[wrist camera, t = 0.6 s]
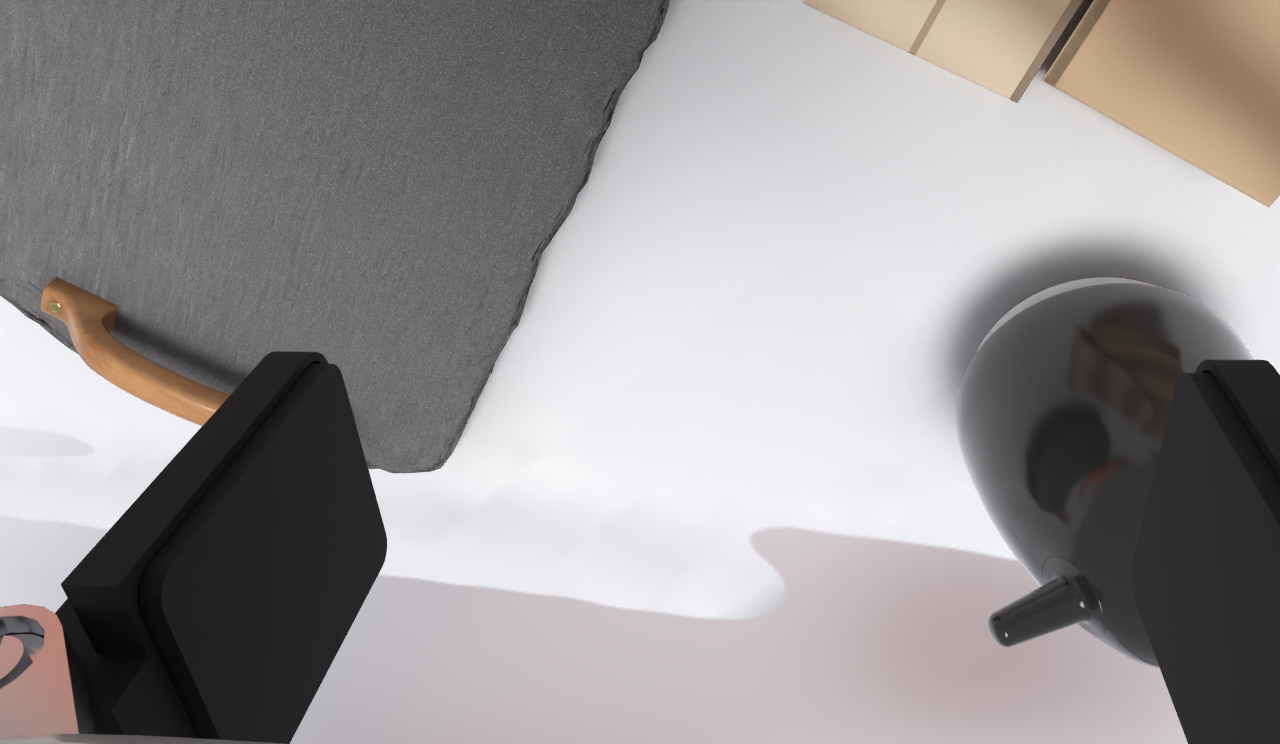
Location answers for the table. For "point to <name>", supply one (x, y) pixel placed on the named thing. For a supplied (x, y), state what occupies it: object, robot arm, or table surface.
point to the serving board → (300, 188)
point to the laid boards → (965, 34)
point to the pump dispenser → (1079, 443)
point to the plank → (1186, 81)
